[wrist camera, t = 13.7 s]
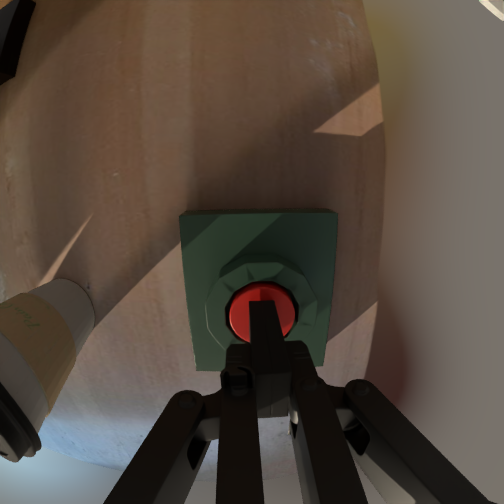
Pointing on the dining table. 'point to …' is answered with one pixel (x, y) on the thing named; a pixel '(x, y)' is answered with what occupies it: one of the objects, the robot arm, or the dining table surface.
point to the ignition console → (257, 272)
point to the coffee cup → (38, 358)
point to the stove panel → (13, 35)
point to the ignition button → (260, 293)
